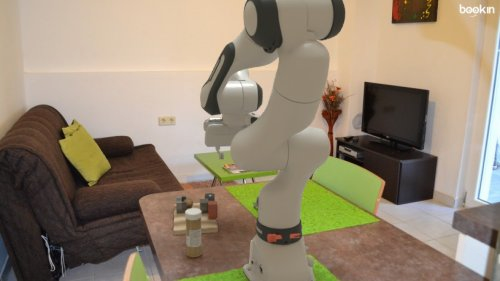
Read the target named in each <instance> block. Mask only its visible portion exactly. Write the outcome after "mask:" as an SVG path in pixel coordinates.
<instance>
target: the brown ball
mask: <svg viewBox="0 0 500 281" xmlns="http://www.w3.org/2000/svg"><path fill="white" fill-rule="evenodd" d="M184 201H187V208H191V207H192V206H193V203H194V201H193V199H191V198H187V197H186V199H185V200H184ZM184 201H183V202H184Z"/></svg>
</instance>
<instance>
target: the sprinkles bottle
mask: <svg viewBox="0 0 500 281" xmlns="http://www.w3.org/2000/svg"><path fill="white" fill-rule="evenodd" d="M201 217H202V214H201V210H200V209H197V208H191V209H188V210H186V211H185V218H186V234H185V243H186V253H185V255H186V256H187V257H188V258H198V257H201V255H202V254H203V252H202V233H201Z"/></svg>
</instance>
